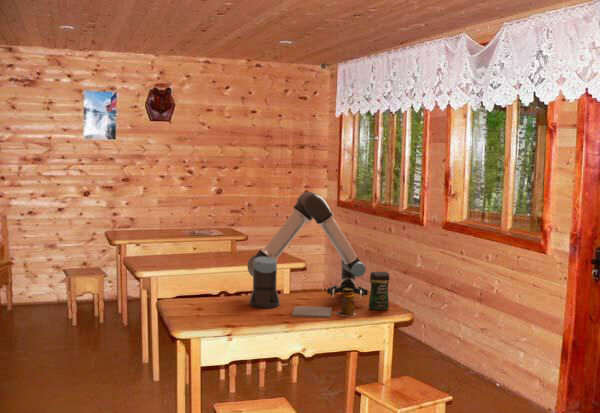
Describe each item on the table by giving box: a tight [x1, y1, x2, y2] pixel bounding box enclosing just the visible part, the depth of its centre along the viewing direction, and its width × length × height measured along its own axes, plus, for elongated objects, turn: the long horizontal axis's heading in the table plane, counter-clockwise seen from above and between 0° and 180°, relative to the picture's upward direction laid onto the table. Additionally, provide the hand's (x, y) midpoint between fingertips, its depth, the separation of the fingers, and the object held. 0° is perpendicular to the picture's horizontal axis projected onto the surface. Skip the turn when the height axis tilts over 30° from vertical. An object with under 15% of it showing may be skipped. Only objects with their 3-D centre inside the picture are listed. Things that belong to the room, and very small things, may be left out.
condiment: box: [334, 288, 357, 317], centre depth 311 cm, size 7×8×12 cm
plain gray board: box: [291, 305, 333, 319], centre depth 312 cm, size 18×16×1 cm
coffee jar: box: [368, 271, 391, 311], centre depth 321 cm, size 10×8×19 cm
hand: (347, 295), depth 319 cm, fingers open, 13 cm apart
